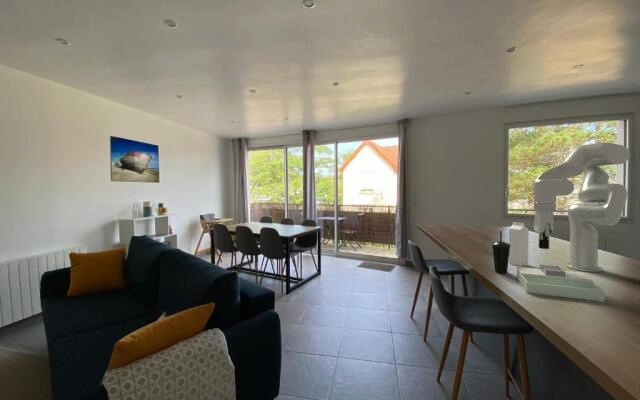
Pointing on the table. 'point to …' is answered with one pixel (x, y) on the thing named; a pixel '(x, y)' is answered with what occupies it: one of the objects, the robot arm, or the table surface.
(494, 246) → the drinking cup
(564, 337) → the table surface
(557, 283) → the box
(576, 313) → the table surface
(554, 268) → the slate tile
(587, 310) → the table surface
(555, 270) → the slate tile
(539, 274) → the cream rectangular block
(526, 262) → the milk
